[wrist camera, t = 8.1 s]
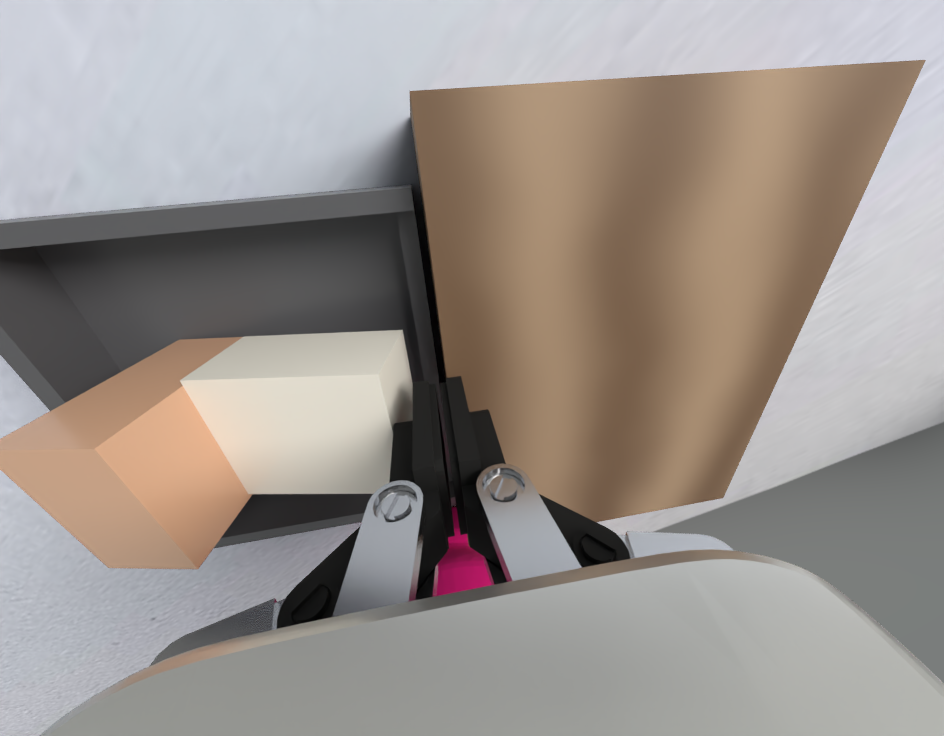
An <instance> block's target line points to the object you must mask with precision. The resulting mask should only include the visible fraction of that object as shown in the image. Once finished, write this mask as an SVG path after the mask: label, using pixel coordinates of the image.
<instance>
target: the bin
mask: <svg viewBox="0 0 944 736" xmlns="http://www.w3.org/2000/svg"><path fill="white" fill-rule="evenodd" d="M387 330H403V335H404V340H405V345H406V351H407V356H408V361H409V367H410V372H411V377H412V383H414V382H421V381H428V380H429V385H430V384H435V385H436V392H437V398H438V405H439V412H440V418H441V425H442V431H443V438H444V445H445V453H446V462H447V470H448V479H449V488H450V497H451V506H453V505H456V501H455V494H454V487H453V480H452V473H451V466H450V459H449V451H448V443H447V435H446V427H445V419H444V411H443V402H442V395H441V388H440V381H439V374H438V367H437V360H436V353H435V347H434V340H433V333H432V326H431V319H430V312H429V305H428V298H427V291H426V284H425V277H424V270H423V263H422V256H421V249H420V242H419V235H418V228H417V221H416V214H415V207H414V200H413V193H412V187H411V185H399V186H388V187H376V188H365V189H353V190H342V191H330V192H318V193H307V194H295V195H284V196H272V197H261V198H249V199H238V200H226V201H215V202H203V203H192V204H180V205H168V206H157V207H145V208H134V209H122V210H111V211H99V212H88V213H76V214H65V215H53V216H42V217H30V218H18V219H8V220H0V355H1V356H2V357H3V358H4V359H5V360H6V362H7V363H8V364H9V365H10V366H11V367H12V368H13V369H14V371H15V372H16V373H17V374H18V375H19V376H20V377H21V378H22V380H23V381H24V382H25V383H26V384H27V385H28V386H29V387H30V389H31V390H32V391H33V392H34V393H35V394H36V395H37V396H38V398H39V399H40V400H41V401H42V402H43V403H44V404H45V405H46V407H47V408H48V409H49V410H50V411H52V410H53V409H55V408H57V407H59V406H61V405H62V404H64V403H66V402H68V401H70V400H71V399H73V398H75V397H77V396H79V395H80V394H82V393H84V392H86V391H88V390H89V389H91V388H93V387H95V386H97V385H98V384H100V383H102V382H104V381H106V380H107V379H109V378H111V377H113V376H115V375H117V374H118V373H120V372H122V371H124V370H126V369H127V368H129V367H131V366H133V365H135V364H136V363H138V362H140V361H142V360H144V359H145V358H147V357H149V356H151V355H153V354H154V353H156V352H158V351H160V350H162V349H163V348H165V347H167V346H169V345H171V344H172V343H174V342H176V341H178V340H181V339H205V338H229V337H244V336H268V335H292V334H316V333H340V332H364V331H387ZM372 495H373V494H253V495H252V496H251V497H250V499H249V500H248V501H247V503H246V504H245V506H244V507H243V508H242V510H241V511H240V512H239V514H238V515H237V517H236V518H235V519H234V521H233V522H232V523H231V525H230V526H229V527H228V529H227V530H226V532H225V533H224V534H223V536H222V537H221V538H220V540H219V541H218V543H217V544H216V545H215V547H214V548H218V547H223V546H229V545H235V544H240V543H246V542H251V541H257V540H263V539H268V538H274V537H279V536H285V535H291V534H296V533H302V532H307V531H313V530H319V529H324V528H330V527H336V526H341V525H347V524H352V523H358V522H362V520H363V517H364V514H365V510H366V507H367V504H368V502H369V500H370V498H371V496H372Z"/></svg>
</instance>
